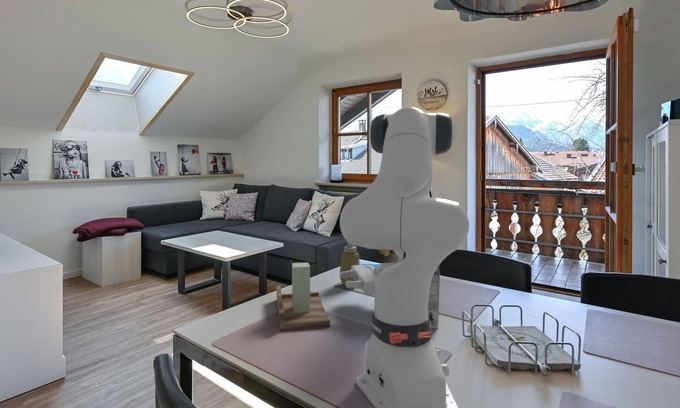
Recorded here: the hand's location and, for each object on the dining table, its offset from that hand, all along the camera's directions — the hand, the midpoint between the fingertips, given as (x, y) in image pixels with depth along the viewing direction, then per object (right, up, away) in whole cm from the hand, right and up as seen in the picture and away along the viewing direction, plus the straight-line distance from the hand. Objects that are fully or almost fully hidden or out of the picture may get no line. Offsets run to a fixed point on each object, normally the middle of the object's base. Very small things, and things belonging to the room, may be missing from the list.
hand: (342, 279), depth 124 cm
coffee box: (+24, -11, -9) cm, 28 cm away
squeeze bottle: (+3, -7, +26) cm, 27 cm away
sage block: (-13, -9, -2) cm, 16 cm away
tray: (-13, -10, -1) cm, 16 cm away
